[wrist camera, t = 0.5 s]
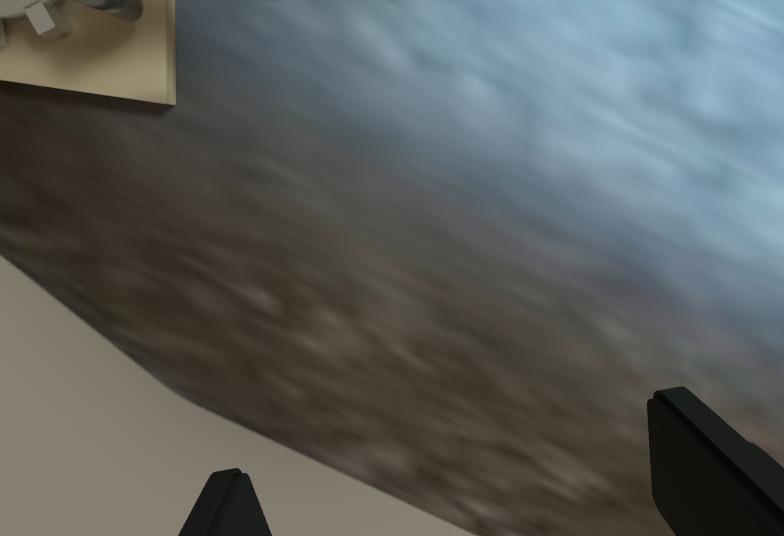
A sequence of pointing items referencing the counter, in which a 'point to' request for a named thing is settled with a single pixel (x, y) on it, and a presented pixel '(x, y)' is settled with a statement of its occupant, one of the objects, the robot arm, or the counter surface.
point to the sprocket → (41, 8)
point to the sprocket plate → (98, 53)
